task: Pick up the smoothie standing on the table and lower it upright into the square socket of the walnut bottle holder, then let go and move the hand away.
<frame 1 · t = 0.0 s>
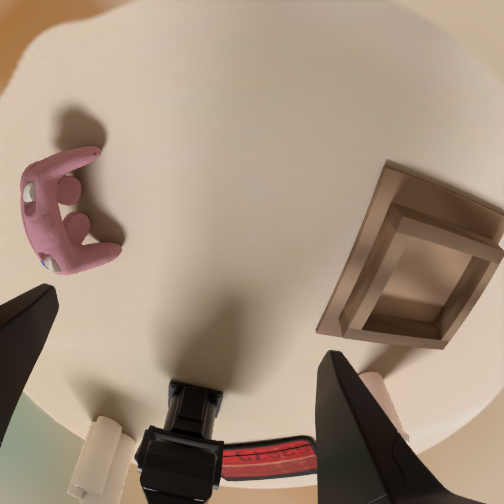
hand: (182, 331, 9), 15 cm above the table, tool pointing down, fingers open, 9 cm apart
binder: (262, 455, 47), on the table
bottle holder: (417, 275, 25), on the table
smoothie: (366, 379, 33), on the table
vase: (112, 430, 46), on the table
video game controller: (86, 201, 23), on the table
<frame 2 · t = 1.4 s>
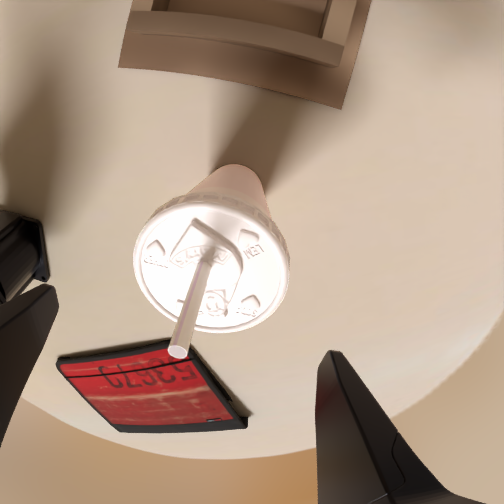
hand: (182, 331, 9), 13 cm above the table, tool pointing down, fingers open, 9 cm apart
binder: (145, 388, 35), on the table
smoothie: (234, 190, 21), on the table
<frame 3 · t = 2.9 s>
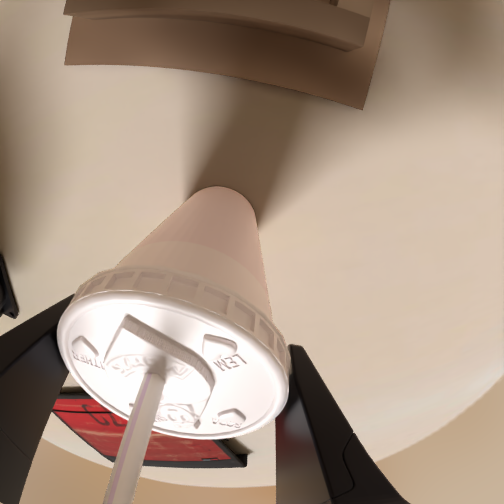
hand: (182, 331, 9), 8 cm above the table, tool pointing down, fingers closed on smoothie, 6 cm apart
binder: (135, 424, 30), on the table
smoothie: (219, 220, 16), on the table, touching gripper
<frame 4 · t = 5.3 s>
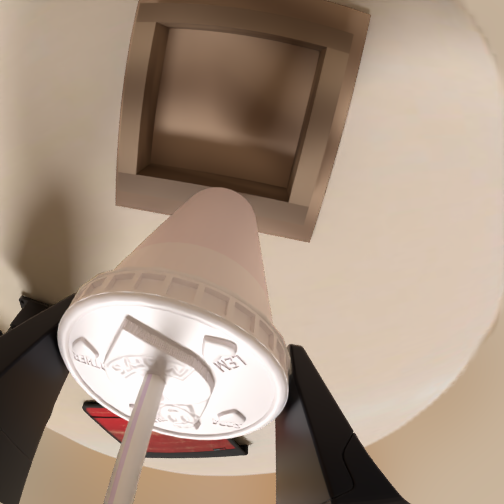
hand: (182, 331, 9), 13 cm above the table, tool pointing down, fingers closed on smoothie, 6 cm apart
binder: (161, 424, 40), on the table
bottle holder: (230, 104, 18), on the table
smoothie: (219, 220, 16), point 6 cm above the table, touching gripper
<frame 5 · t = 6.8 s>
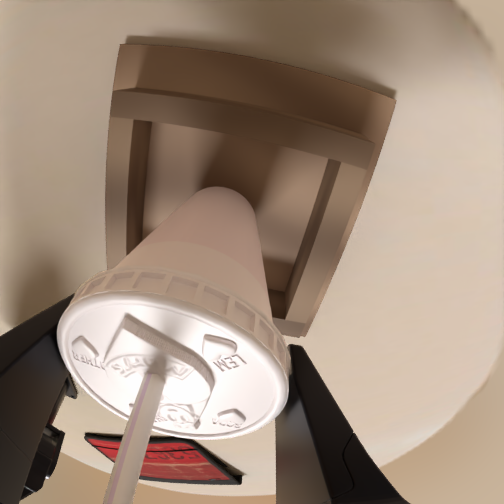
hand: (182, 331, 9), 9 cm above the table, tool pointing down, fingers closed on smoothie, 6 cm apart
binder: (159, 455, 39), on the table
bottle holder: (225, 205, 17), on the table
smoothie: (219, 220, 16), point 2 cm above the table, touching gripper
when the fingers open (9 cm above the table, at t = 7.8 s): smoothie stays where it is, resting on bottle holder.
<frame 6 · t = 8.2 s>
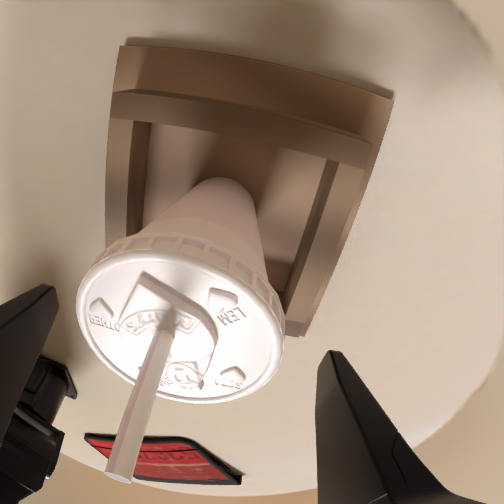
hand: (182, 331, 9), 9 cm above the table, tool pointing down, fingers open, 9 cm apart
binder: (159, 455, 39), on the table
bottle holder: (224, 205, 17), on the table
smoothie: (220, 208, 17), resting on bottle holder
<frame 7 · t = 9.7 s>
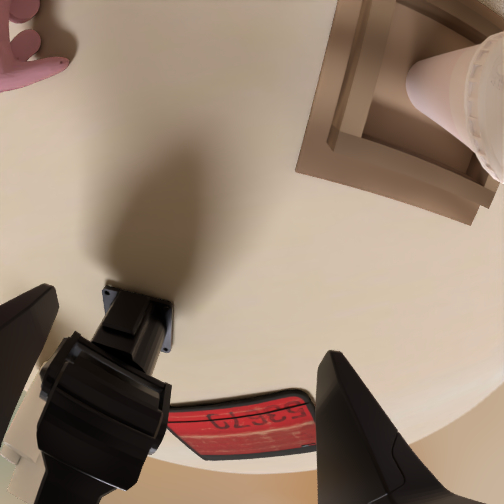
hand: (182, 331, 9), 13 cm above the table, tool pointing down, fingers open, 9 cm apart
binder: (244, 424, 38), on the table
bottle holder: (430, 87, 15), on the table
smoothie: (430, 87, 15), resting on bottle holder
vase: (62, 384, 37), on the table
video game controller: (42, 23, 14), on the table
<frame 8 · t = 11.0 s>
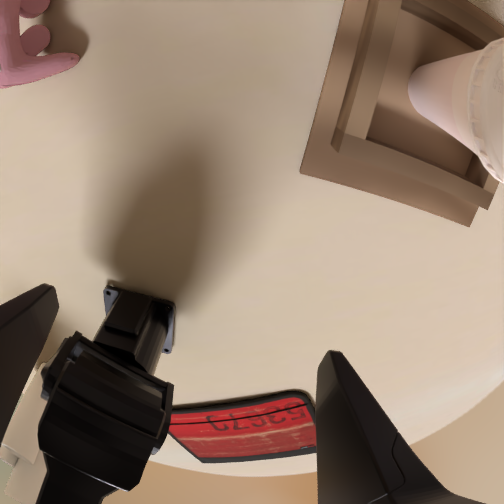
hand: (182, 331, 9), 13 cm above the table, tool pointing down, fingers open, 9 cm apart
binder: (243, 426, 38), on the table
bottle holder: (431, 91, 16), on the table
smoothie: (431, 91, 16), resting on bottle holder
vase: (60, 386, 37), on the table
video game controller: (52, 19, 14), on the table
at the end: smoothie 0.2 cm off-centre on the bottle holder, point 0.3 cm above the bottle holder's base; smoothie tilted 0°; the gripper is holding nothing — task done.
